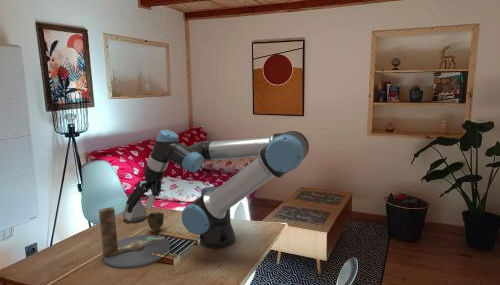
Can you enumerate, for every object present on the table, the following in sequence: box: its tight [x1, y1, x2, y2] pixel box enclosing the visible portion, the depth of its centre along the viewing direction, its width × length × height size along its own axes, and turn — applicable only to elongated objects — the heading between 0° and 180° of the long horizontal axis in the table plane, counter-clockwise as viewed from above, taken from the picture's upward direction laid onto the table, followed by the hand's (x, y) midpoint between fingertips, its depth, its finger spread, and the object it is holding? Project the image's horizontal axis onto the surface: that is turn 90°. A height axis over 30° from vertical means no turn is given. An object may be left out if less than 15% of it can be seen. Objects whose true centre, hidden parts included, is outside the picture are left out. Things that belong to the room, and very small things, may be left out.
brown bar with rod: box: [98, 206, 165, 257], centre depth 140 cm, size 24×5×18 cm, turn 122°
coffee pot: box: [122, 188, 166, 223], centre depth 176 cm, size 21×12×15 cm, turn 93°
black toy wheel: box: [146, 211, 164, 233], centre depth 161 cm, size 8×7×8 cm
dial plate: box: [101, 234, 171, 270], centre depth 142 cm, size 26×26×2 cm
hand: (138, 213), depth 143 cm, fingers open, 13 cm apart
